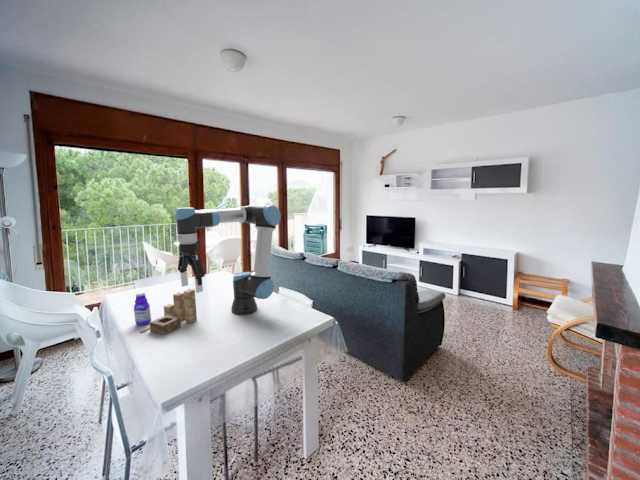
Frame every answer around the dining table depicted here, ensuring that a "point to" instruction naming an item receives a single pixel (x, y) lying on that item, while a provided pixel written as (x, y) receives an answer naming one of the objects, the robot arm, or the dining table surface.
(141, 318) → the bottle
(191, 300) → the peg long
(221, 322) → the dining table surface
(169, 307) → the peg short
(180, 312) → the peg medium
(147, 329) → the strip
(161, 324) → the hole block
